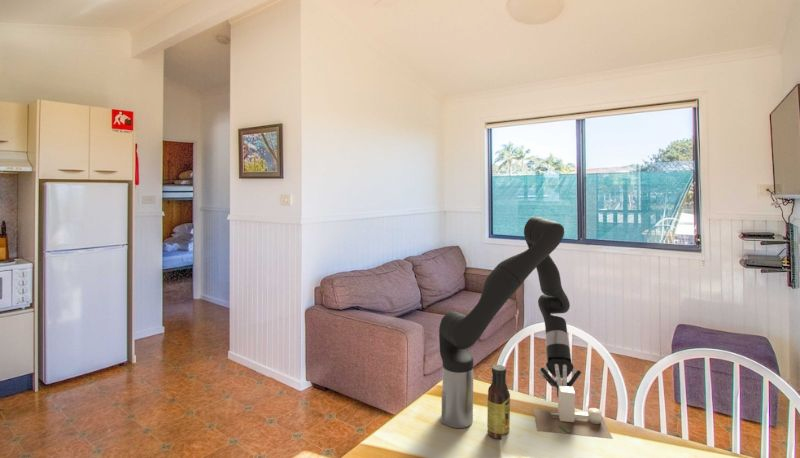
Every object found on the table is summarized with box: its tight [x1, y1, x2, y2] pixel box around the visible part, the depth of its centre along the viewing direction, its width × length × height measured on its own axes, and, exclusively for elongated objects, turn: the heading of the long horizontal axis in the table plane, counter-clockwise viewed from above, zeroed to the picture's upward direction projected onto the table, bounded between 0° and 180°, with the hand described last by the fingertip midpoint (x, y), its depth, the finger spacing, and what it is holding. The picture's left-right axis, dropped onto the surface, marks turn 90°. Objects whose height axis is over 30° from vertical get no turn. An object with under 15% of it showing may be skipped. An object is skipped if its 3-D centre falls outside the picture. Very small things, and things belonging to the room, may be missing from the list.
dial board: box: [532, 408, 613, 440], centre depth 128 cm, size 20×12×2 cm, turn 79°
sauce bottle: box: [486, 364, 511, 440], centre depth 124 cm, size 7×6×20 cm
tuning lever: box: [551, 385, 602, 424], centre depth 129 cm, size 14×4×9 cm, turn 79°
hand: (562, 399), depth 135 cm, fingers closed
